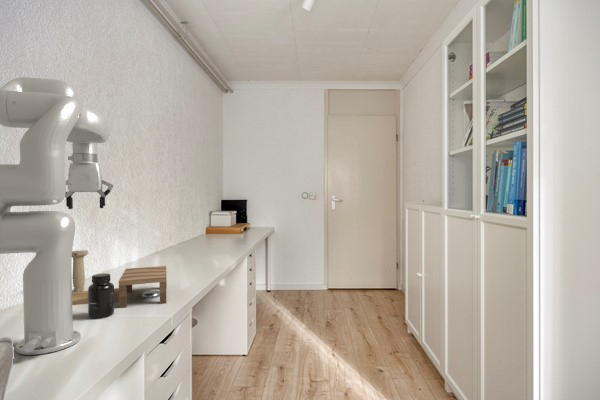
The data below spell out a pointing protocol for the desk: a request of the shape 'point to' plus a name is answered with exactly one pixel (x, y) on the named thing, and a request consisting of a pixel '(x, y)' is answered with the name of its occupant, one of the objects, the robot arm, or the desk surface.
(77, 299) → the oak stick
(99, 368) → the desk surface
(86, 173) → the robot arm
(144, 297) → the steel disc
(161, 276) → the desk riser
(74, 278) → the beige pillar figurine
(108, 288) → the supplement bottle
